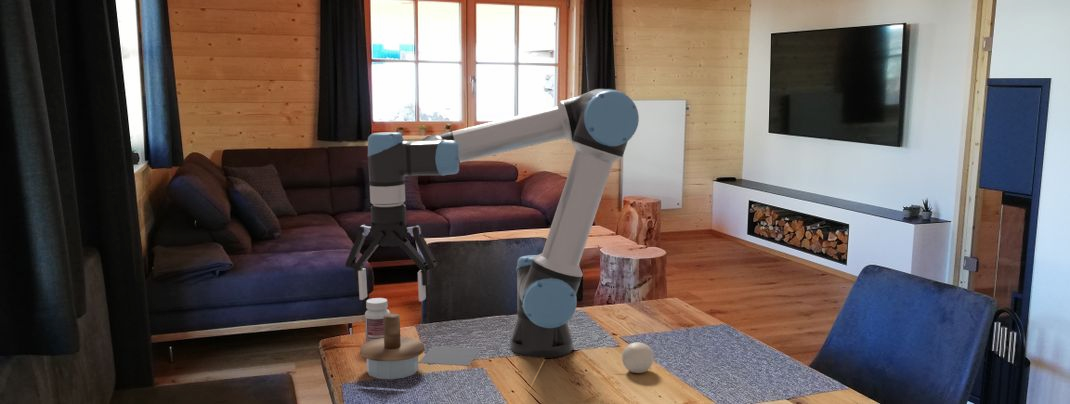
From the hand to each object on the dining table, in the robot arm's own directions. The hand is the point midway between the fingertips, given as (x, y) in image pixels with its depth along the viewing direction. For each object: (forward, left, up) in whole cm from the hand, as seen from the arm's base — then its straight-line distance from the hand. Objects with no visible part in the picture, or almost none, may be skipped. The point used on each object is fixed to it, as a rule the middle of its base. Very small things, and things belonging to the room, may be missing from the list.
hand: (392, 299), depth 189 cm
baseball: (-54, -10, -17) cm, 57 cm away
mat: (-10, -12, -17) cm, 23 cm away
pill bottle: (+10, -18, -17) cm, 27 cm away
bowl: (0, 0, -17) cm, 17 cm away
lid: (0, 0, -12) cm, 12 cm away
